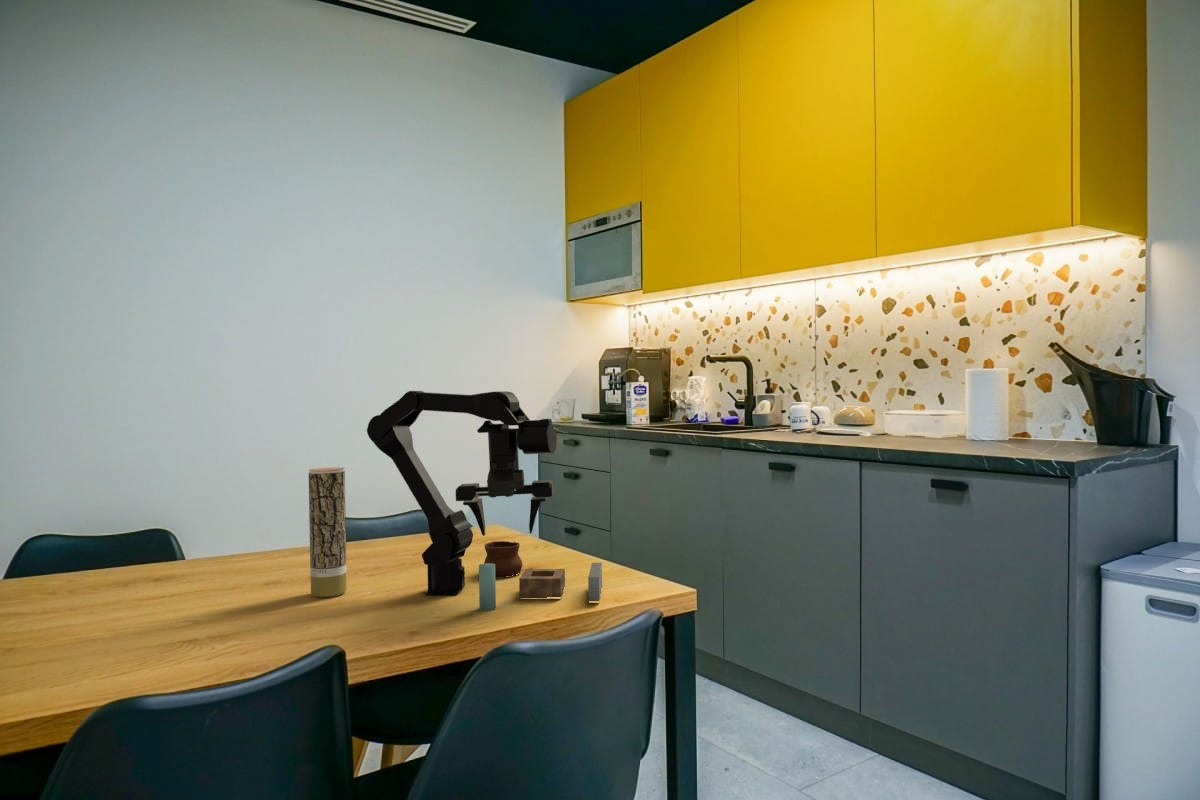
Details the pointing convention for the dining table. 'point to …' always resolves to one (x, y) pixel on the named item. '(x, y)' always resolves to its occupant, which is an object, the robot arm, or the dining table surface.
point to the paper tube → (327, 531)
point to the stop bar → (595, 582)
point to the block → (542, 583)
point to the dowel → (487, 587)
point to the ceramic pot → (504, 557)
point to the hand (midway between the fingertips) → (507, 534)
